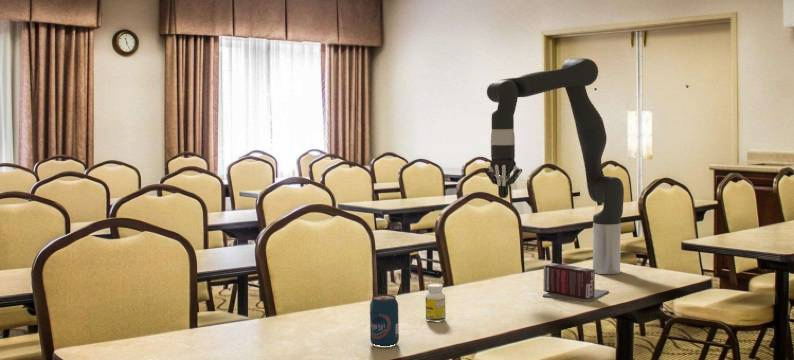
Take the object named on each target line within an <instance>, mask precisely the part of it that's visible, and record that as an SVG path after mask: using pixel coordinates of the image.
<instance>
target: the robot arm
mask: <svg viewBox="0 0 794 360" xmlns="http://www.w3.org/2000/svg"><path fill="white" fill-rule="evenodd" d="M598 76H599V67H598V65H597V63H596V62H595V61H593V60H592V59H589V58H585V57H583V58H582V57H579V58H575V57H574V58H568V59H566V60H565V61H564V62H563V63H562V65H561V68H556V69H549V70H543V71H542V70H541V71H535V72H530V73H526V74H523V75H519V76H516V77H510V78H504V79H503V78H502V79H498V80H494V81H492V82H491V83H490V84H488V86H487V89H486V97H487V98H488V99H489V101H491V102H493V103H497V109H496V110H494V111H493V112H492V114H491V133H490V158H491V161H490V162H489V166H488V167H486V168H484V170H483V171H484V173H485V174H486V176H487V177H488V178H489V180H490V181H491V183H492V184H493V185H496V186H497V188H498V191H497V192H498V197H499V198H500V199H507V197H508V196H509V186H510V185H511V186H512V185H514V183H515V182H516V181H517V179H518V178H519V177H520V176H521V174H522V172H523V169H522V168H519V167H518V166H517V162H516V161H515V157H516V154H515V153H516V150H515V149H516V146H515V145H516V144H515V142H516V140H515V138H516V136H515V130H514V129H515V123H514V118H515V117H514V115H515V112H516V108H517V104H518V103H517V102H518V99H519V98H527V97H532V96H536V95H539V94H542V93H543V94H544V93H546V92H550V91H554V90H557V89H562V88H565V92H566V95H567V97H568V101H569V103H570V107H571V111H572V115H573V120H574V123H575V130H576V134H577V138H578V142H579V145H580V149H581V154H582V160H583V164H584V165H583V166H584V172H585V179H586V187H587V192H588V195H589V197H590V199H591V200H592V201H593V202H596V203H601V204H603V208H602V210H601V211H599V212H597V213H595V214H593V217H592V269H593V270H595V274H599V275H600V274H601V275H617V274H620V273H621V222H622V221H621V220H622V219H621V218H622V216H623V212H624V198H625V192H624V191H625V189H624V184H623V181H622V179H621V178H619V177H616V176H605V174H604V172H603V171H604V170H603V165H602V157H603V154H604V151H605V148H606V144H607V139H608V138H607V137H608V136H607V133H606V128H605V124H604V120H603V118H602V116H601V113H600V112H599V111H598V110H597V108H596V106H595V105H594V103H593V102H592V101H591V99H590V98H589V95H588V93H587V89H586V87H588V86H591V85H593V84H594V83H595V82H596V80H597V78H598ZM511 173H512V175H511Z"/></svg>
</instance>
